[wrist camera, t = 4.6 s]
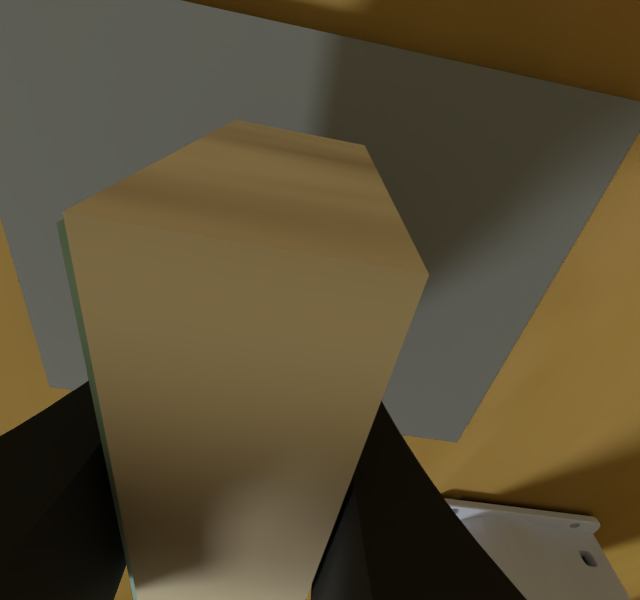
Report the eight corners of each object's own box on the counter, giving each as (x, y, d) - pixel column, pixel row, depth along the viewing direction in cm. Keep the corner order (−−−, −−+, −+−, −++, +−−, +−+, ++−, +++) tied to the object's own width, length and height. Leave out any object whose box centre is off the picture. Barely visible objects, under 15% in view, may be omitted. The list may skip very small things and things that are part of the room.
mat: (639, 103, 10) (655, 104, 10) (453, 431, 18) (457, 442, 17) (-56, -50, 9) (-80, -58, 8) (58, 376, 16) (49, 386, 16)
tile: (301, 420, 13) (284, 654, 8) (213, 409, 12) (135, 642, 7) (364, 145, 8) (429, 274, 3) (225, 117, 8) (34, 206, 3)
